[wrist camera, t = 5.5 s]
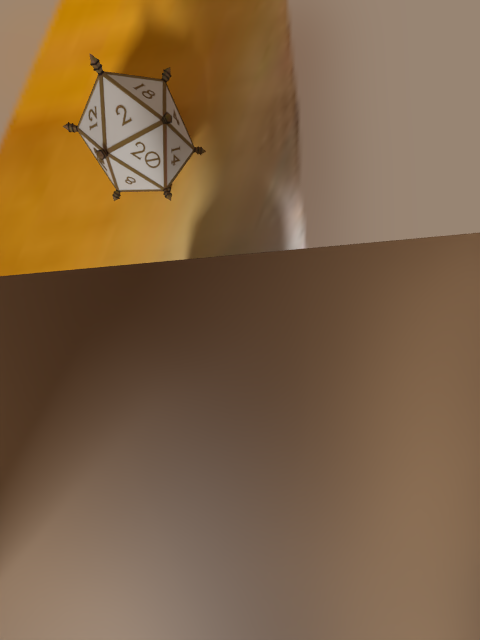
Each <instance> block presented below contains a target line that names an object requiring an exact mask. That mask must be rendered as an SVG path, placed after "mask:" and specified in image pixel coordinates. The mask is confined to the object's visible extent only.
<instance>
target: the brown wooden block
mask: <svg viewBox="0 0 480 640" xmlns="http://www.w3.org/2000/svg"><path fill="white" fill-rule="evenodd" d="M0 640H480V233H472V234H460V235H450V236H439V237H428V238H417V239H406V240H396V241H383V242H373V243H361V244H350V245H340V246H329V247H318V248H307V249H296V250H285V251H274V252H263V253H252V254H241V255H230V256H219V257H208V258H197V259H186V260H175V261H164V262H153V263H142V264H131V265H120V266H109V267H98V268H87V269H76V270H65V271H54V272H43V273H32V274H21V275H10V276H0Z"/></svg>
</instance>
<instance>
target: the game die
mask: <svg viewBox="0 0 480 640" xmlns="http://www.w3.org/2000/svg"><path fill="white" fill-rule="evenodd" d="M90 59H91V64H90V65H91V66H93V68H94V71H96V72H97V73H98V77H97V79H96V82H95V84H94V87H93V89H92V92H91V94H90V97H89V99H88V101H87V104H86V106H85V109H84V111H83V114H82V116H81V119H80V121H79V124H78V126H76V125H74V124H73V123H72V124H70V123H69V122H68V124H66V125H64V126H63V127H64V128H66V129H67V130H69V132H71V131H72V132H79V134H80V135H81V137H82V138H83V140H84V141H85V143H86V144H87V146H88V147H89V149H90V150H91V152H92V153H93V155H94V157H95V158H96V160H97V161H98V163H99V164H100V166H101V167H102V169H103V170H104V172H105V173H106V175H107V176H108V178H109V179H110V181H111V182H112V184H113V185H114V187H115V188H116V191H114V194H113V199H114V201H115V200H117V199H120V198H119V197H120V196H121V195H120V192H140V191H164V195H165V198H167V199H169V200H171V197H172V194H171V193H170V190H171V187H169V186H170V185H171V184H172V182H173V181H174V179H175V178H176V177H177V175H178V174H179V173H180V171H181V170H182V168H183V167H184V166H185V164H186V163H187V161H188V160H189V159H190V157H191V156H192V154H193V153H194V152H196V153H197V154H200V155H201V154H202V153H204V152H206V151H205V150H204V149H203V148H202V147H194V145H193V143H192V141H191V138H190V136H189V134H188V131H187V129H186V127H185V125H184V122H183V120H182V118H181V116H180V113H179V111H178V109H177V107H176V104H175V102H174V100H173V97H172V95H171V93H170V91H169V88H168V86H167V84H166V82H167V81H169V78H170V77H171V75H170V67H169V68H167V69H165V70H164V72H163V73H162V75H163V76H162V79H155V78H148V77H141V76H133V75H126V74H119V73H111V72H104V71H103V70H102V65H101V64H100V63H99V59H97V58H95V57H94V56H93V55H91V54H90Z"/></svg>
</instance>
